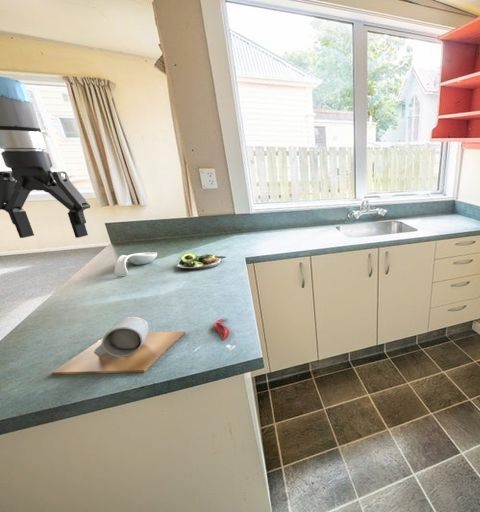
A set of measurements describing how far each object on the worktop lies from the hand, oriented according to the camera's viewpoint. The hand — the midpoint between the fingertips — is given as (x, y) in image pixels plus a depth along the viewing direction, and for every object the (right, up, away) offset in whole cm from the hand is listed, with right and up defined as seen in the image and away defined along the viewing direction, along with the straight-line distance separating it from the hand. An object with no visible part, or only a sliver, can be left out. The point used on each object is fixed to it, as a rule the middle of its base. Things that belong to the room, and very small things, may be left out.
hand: (54, 236), depth 77 cm
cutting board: (+21, -29, -3) cm, 36 cm away
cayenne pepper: (+40, -26, +7) cm, 48 cm away
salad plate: (+1, -9, +59) cm, 60 cm away
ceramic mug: (+21, -29, -3) cm, 36 cm away
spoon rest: (-24, -10, +55) cm, 61 cm away
